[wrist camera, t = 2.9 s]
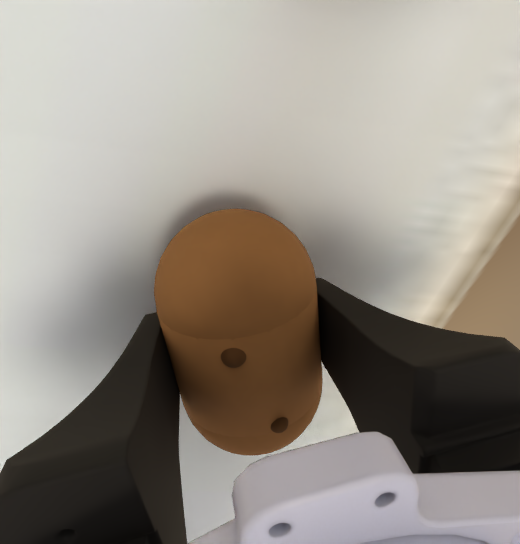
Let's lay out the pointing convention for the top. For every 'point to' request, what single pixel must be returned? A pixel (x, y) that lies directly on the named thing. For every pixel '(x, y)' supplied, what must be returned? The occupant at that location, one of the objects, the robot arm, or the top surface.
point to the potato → (242, 329)
